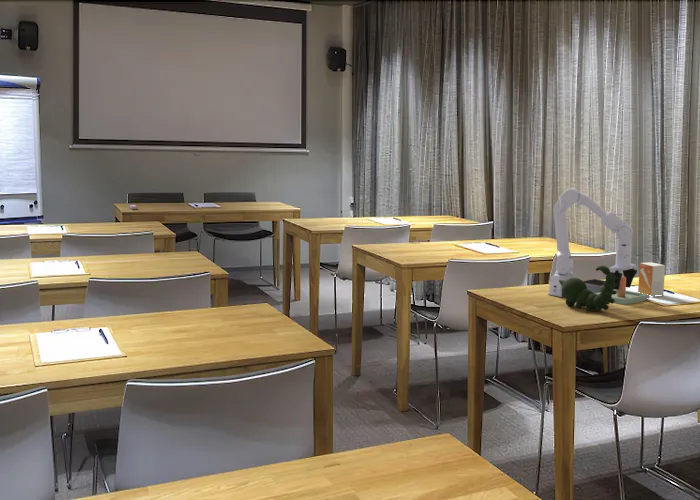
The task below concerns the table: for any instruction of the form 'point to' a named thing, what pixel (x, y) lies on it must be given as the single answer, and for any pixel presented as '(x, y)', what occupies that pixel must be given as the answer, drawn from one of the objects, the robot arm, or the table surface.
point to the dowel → (622, 287)
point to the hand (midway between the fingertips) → (621, 288)
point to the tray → (629, 297)
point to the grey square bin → (594, 285)
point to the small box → (651, 278)
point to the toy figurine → (589, 292)
